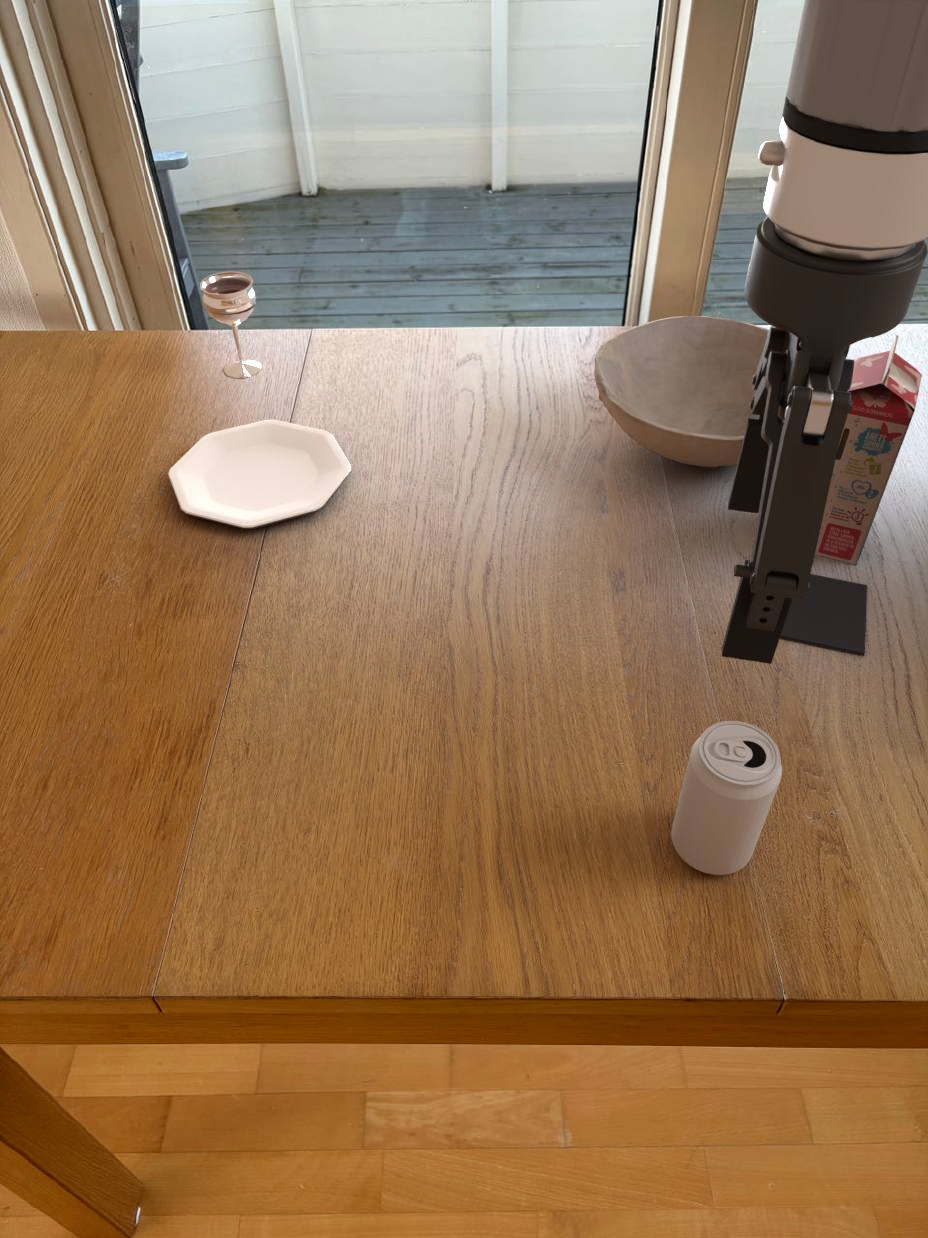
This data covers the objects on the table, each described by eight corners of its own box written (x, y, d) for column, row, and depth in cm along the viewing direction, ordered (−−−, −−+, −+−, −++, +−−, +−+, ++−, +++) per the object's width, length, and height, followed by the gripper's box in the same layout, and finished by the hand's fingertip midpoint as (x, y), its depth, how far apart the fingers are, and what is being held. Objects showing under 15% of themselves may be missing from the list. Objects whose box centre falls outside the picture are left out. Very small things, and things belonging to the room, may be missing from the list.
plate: (196, 552, 101) (193, 541, 100) (159, 455, 114) (156, 444, 113) (370, 505, 106) (369, 494, 105) (317, 417, 119) (315, 407, 118)
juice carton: (865, 527, 103) (934, 341, 88) (856, 564, 99) (927, 376, 83) (803, 512, 105) (859, 328, 90) (792, 548, 101) (849, 360, 85)
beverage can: (753, 886, 72) (790, 794, 64) (668, 873, 73) (693, 781, 65) (750, 816, 77) (784, 722, 68) (670, 805, 78) (693, 710, 69)
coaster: (866, 587, 96) (867, 584, 96) (863, 656, 89) (865, 653, 89) (765, 567, 98) (766, 564, 98) (755, 633, 92) (756, 630, 91)
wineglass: (207, 367, 128) (188, 282, 120) (249, 350, 131) (234, 266, 123) (235, 387, 125) (217, 300, 116) (277, 368, 128) (264, 283, 119)
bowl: (853, 488, 108) (879, 412, 101) (634, 525, 104) (645, 448, 97) (750, 373, 126) (766, 302, 119) (560, 400, 122) (565, 327, 115)
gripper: (759, 130, 52) (695, 453, 67) (758, 351, 35) (671, 721, 50) (902, 140, 51) (805, 466, 66) (975, 374, 34) (820, 745, 48)
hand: (747, 576), depth 58 cm, fingers open, 13 cm apart
